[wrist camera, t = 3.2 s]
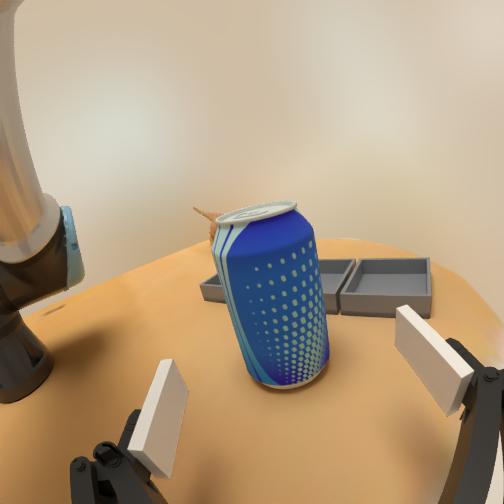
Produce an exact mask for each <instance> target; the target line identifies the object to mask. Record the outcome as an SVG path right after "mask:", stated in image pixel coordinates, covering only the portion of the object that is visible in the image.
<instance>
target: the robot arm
mask: <svg viewBox="0 0 504 504" xmlns="http://www.w3.org/2000/svg"><path fill="white" fill-rule="evenodd" d="M23 1H24V0H0V402H2V403H8V402H13V401H16V400H18V399H21V398H23V397H24V396H26V395H28V394H29V393H31V392H32V391H33V390H34V389H36V388H37V387H38V386H39V385H40V384H41V383H42V382H43V381H44V380H45V378H46V377H47V376H48V374H49V373H50V371H51V369H52V366H53V358H52V356H51V354H50V352H49V351H48V349H47V347H46V346H45V345H44V344H43V343H42V342H41V341H40V340H39V339H38V338H37V337H36V335H35V334H34V333H33V332H32V331H31V330H30V329H29V328H28V327H27V326H26V324H25V323H24V321H23V319H22V317H21V315H20V313H19V311H18V310H20V309H22V308H24V307H27V306H29V305H31V304H34V303H36V302H38V301H41V300H43V299H46V298H48V297H50V296H53V295H55V294H58V293H60V292H62V291H67V290H68V289H69V288H70V287H73V286H75V285H76V284H79V283H80V282H81V281H82V280H83V279H84V276H85V271H84V266H83V262H82V258H81V253H80V250H79V246H78V241H77V235H76V231H75V226H74V221H73V216H72V211H71V208H70V207H69V206H61V207H59V205H58V203H57V201H56V200H55V199H54V198H53V197H52V196H51V195H49V194H46V193H42V190H41V187H40V184H39V181H38V178H37V175H36V172H35V168H34V165H33V162H32V158H31V155H30V151H29V147H28V143H27V139H26V134H25V130H24V125H23V121H22V115H21V110H20V104H19V98H18V91H17V83H16V72H15V59H14V15H15V12H16V10H17V8H18V7H19V6H20V5H21V3H22V2H23ZM394 345H395V346H396V348H397V349H398V350H399V352H400V353H401V354H402V356H403V357H404V358H405V359H406V361H407V362H408V363H409V365H410V366H411V367H412V369H413V370H414V372H415V373H416V374H417V376H418V377H419V378H420V380H421V381H422V382H423V384H424V385H425V387H426V388H427V389H428V391H429V392H430V394H431V395H432V396H433V398H434V399H435V401H436V402H437V403H438V405H439V406H440V408H441V409H442V411H443V412H444V414H445V415H446V417H448V416H449V415H451V414H453V413H454V412H456V411H458V410H459V408H460V406H461V403H463V404H464V406H465V409H464V411H463V413H462V415H461V417H460V420H461V419H462V423H461V429H460V433H459V438H458V442H457V446H456V450H455V454H454V458H453V462H452V465H451V468H450V472H449V475H448V478H447V481H446V484H445V487H444V489H443V492H442V495H441V497H440V500H439V502H438V504H485V502H486V499H487V495H488V491H489V488H490V484H491V479H492V475H493V470H494V465H495V460H496V454H497V448H498V439H499V431H500V434H501V443H502V452H503V468H504V369H502V370H498V369H496V368H494V367H484V366H483V365H482V364H481V363H480V362H479V361H478V360H477V359H476V358H475V357H474V356H473V355H472V354H471V353H470V352H468V350H467V349H466V348H464V346H463V345H462V344H461V343H460V342H459V341H457V340H455V339H452V338H449V339H447V340H444V339H443V338H442V337H441V336H440V335H439V334H438V333H437V332H436V331H435V330H434V329H433V328H431V327H430V326H429V325H428V324H427V323H426V322H425V321H424V320H423V319H422V318H421V317H420V316H419V315H418V314H417V313H416V312H415V311H414V310H412V309H411V308H410V307H409V306H408V305H404V306H401V307H398V308H396V328H395V344H394ZM188 394H189V390H188V388H187V386H186V385H185V383H184V381H183V379H182V377H181V375H180V373H179V371H178V369H177V367H176V364H175V362H174V360H173V359H166V360H161V362H160V364H159V366H158V369H157V371H156V374H155V376H154V379H153V382H152V384H151V387H150V389H149V392H148V394H147V397H146V400H145V402H144V405H143V408H142V410H138V409H135V410H134V411H133V412H132V414H131V415H130V416H129V418H128V421H127V423H126V424H127V425H126V426H125V428H124V431H123V433H122V436H121V438H120V441H119V443H118V446H116V445H115V444H114V443H112V442H106V441H105V442H102V443H100V444H98V445H97V446H96V447H95V449H94V451H93V457H94V458H95V459H96V460H97V461H95V462H91V461H90V460H88V459H87V458H86V457H77V458H75V459H74V460H73V461H72V462H71V464H70V485H71V499H72V504H168V503H167V501H166V500H165V499H164V497H163V496H162V494H161V493H160V492H159V490H158V489H157V487H156V486H155V485H154V483H153V482H152V481H151V480H150V475H151V474H153V475H154V476H155V477H156V478H160V479H171V475H172V470H173V465H174V460H175V455H176V450H177V445H178V440H179V435H180V430H181V426H182V421H183V416H184V412H185V407H186V403H187V398H188ZM462 417H463V418H462ZM503 499H504V498H503ZM503 504H504V500H503Z"/></svg>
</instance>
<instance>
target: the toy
mask: <svg viewBox="0 0 504 504" xmlns="http://www.w3.org/2000/svg"><path fill="white" fill-rule="evenodd" d="M194 209H195V210H196V211H197V212H199V213H200V214H202V215H203V216H205V217H207V218H208V219H209V220H211V221H212V224H211V226H210V230H211V231H210V242H211V245H213V242H214V238H215V235H216V231H217V228H218V225H217V224H216V219H217V218H218V217H220V216H222V215H224V214H218V213H205V212H203V211H200V210H198V209H197V208H195V207H194Z"/></svg>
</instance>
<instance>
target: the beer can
mask: <svg viewBox="0 0 504 504" xmlns="http://www.w3.org/2000/svg"><path fill="white" fill-rule="evenodd" d="M296 206H297V203H296V202H295V201H276V202H269V203H264V204H258V205H254V206H250V207H246V208H242V209H238V210H235V211H232V212H229V213H227V214H224V215H222V216H220V217H218V218H217V219H216V224H217V225H218V228H217V231H216V235H215V238H214V242H213V245H212V255H213V258H214V262H215V266H216V269H217V273H218V276H219V280H220V283H221V286H222V290H223V293H224V297H225V300H226V303H227V307H228V310H229V313H230V317H231V320H232V323H233V326H234V330H235V333H236V336H237V339H238V342H239V345H240V349H241V352H242V355H243V358H244V361H245V364H246V367H247V370H248V372H249V374H250V375H251V376H252V377H253V378H254V379H255V380H257V381H258V382H261V383H263V384H265V385H266V386H268V387H271V388H275V389H293V388H297V387H300V386H303V385H305V384H307V383H309V382H310V381H312V380H313V379H314V378H315V377H317V375H318V374H319V373H320V371H321V370H322V369H323V368H324V367H325V365H326V364H327V362H328V359H329V355H330V350H329V340H328V331H327V322H326V313H325V305H324V297H323V289H322V282H321V275H320V268H319V262H318V255H317V249H316V243H315V237H314V231H313V228H312V226H311V225H310V223H309V222H308V221H307V220H306V219H305V218H304V216H303V215H302V214H301V213H300V212H299V211H298V210H297V208H296Z"/></svg>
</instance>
